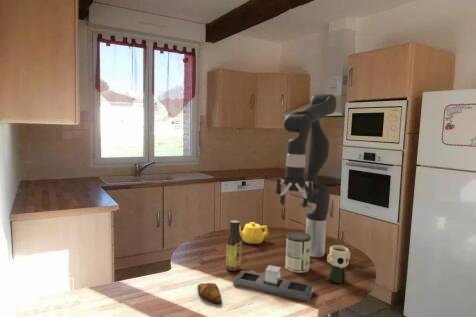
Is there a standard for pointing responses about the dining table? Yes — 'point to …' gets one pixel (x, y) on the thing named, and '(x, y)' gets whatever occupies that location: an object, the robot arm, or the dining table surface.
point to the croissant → (210, 292)
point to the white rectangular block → (272, 275)
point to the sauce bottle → (233, 247)
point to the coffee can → (297, 252)
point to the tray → (285, 288)
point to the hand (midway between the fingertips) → (293, 206)
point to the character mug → (338, 263)
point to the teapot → (253, 233)
